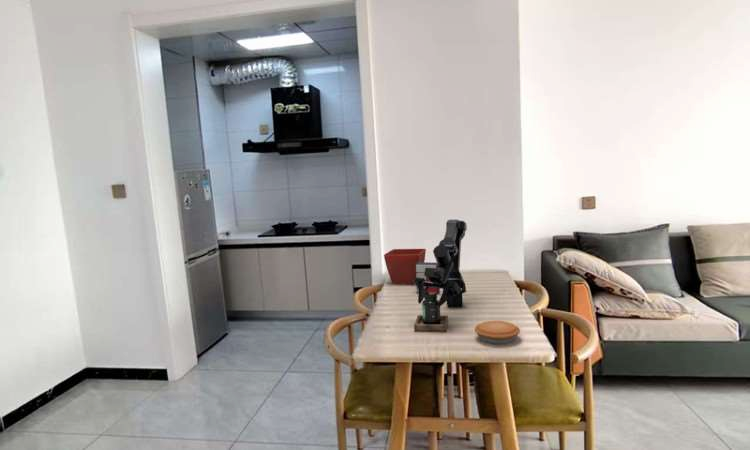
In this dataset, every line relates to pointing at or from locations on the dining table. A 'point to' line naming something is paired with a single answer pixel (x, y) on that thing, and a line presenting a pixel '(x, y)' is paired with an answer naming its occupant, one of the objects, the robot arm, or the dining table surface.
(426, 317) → the supplement bottle
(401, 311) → the dining table surface
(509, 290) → the dining table surface
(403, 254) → the plant pot
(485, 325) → the pie
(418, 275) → the grey and red box
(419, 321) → the walnut tray
